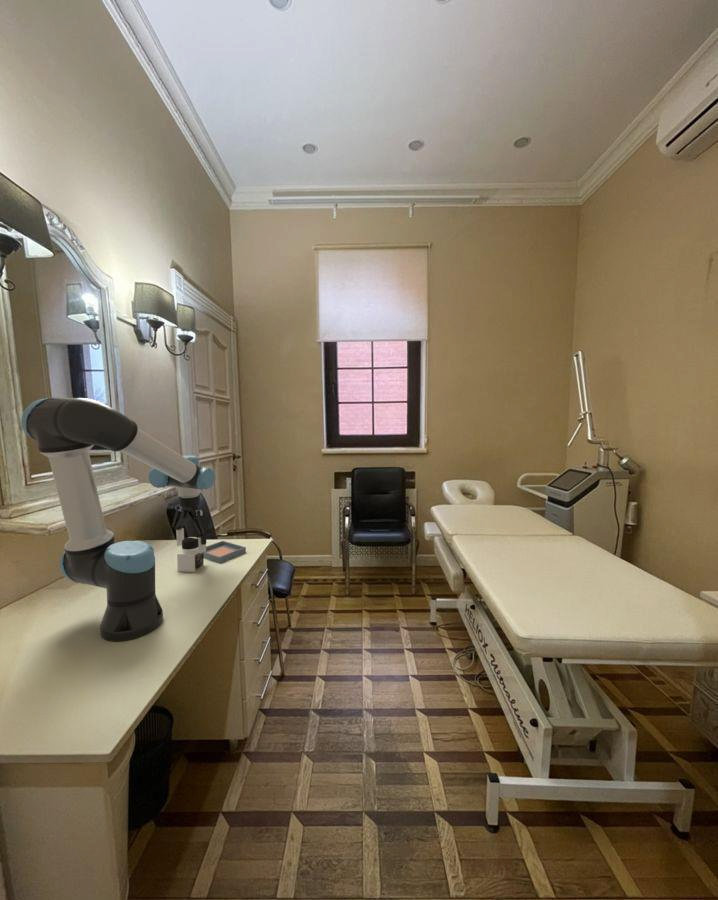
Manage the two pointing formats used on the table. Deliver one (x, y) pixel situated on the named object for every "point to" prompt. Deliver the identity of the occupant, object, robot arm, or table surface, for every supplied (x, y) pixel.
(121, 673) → the table surface
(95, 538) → the robot arm
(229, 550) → the tray
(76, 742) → the table surface
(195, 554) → the medicine bottle
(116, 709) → the table surface
